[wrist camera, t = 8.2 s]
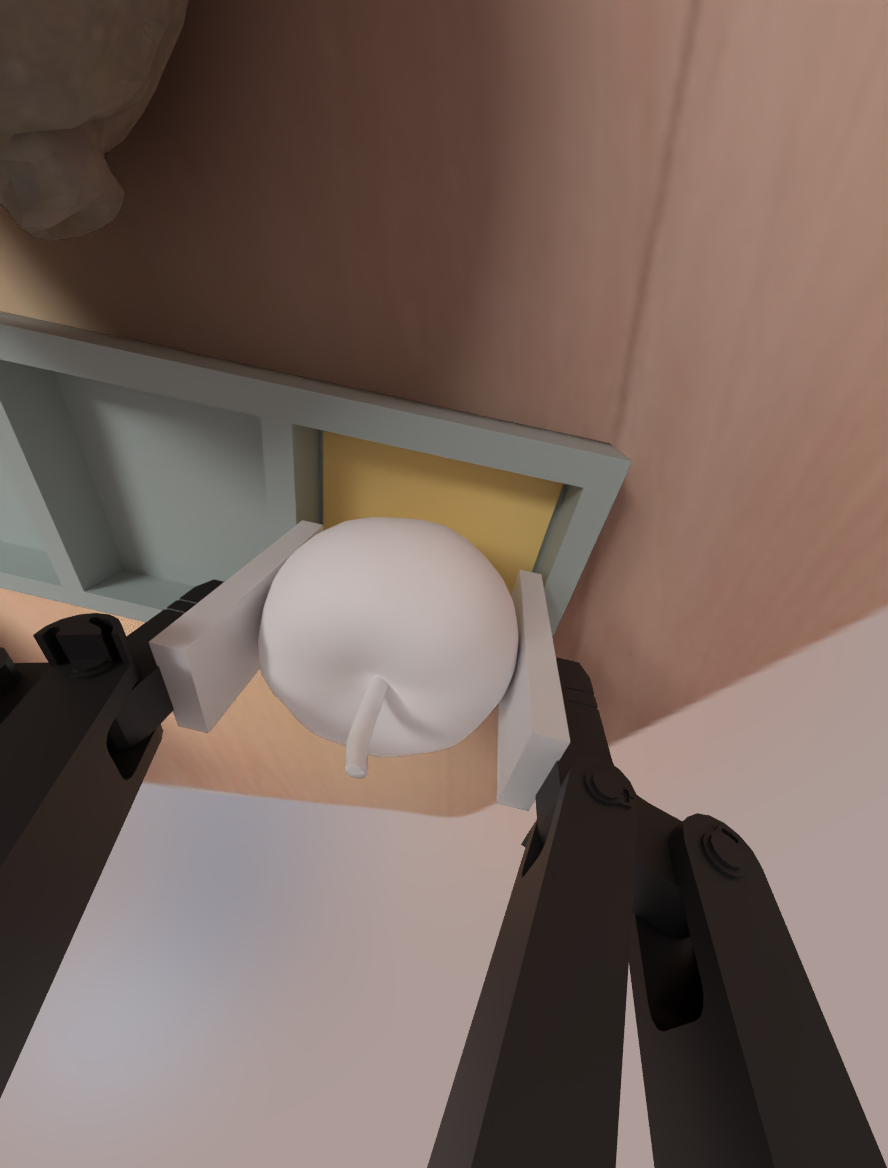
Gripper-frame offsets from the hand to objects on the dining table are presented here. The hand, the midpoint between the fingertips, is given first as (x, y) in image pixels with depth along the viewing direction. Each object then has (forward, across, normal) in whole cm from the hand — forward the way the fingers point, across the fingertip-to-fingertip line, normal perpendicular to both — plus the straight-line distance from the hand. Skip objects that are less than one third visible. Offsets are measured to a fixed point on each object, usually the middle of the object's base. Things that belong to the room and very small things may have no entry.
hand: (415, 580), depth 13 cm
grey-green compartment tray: (+3, -10, 0) cm, 10 cm away
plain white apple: (+1, 0, 0) cm, 1 cm away
